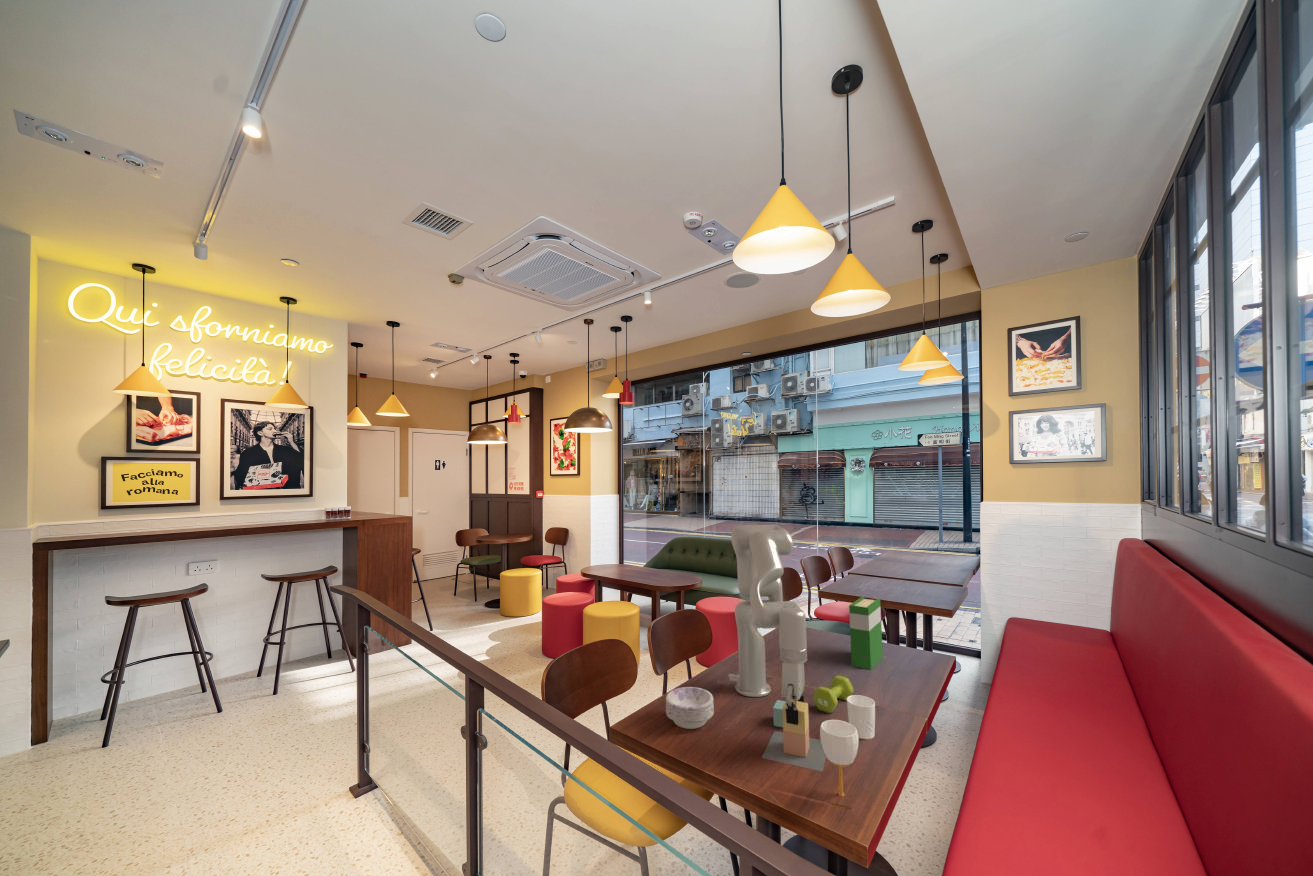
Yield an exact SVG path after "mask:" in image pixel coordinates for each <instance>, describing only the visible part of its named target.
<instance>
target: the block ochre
mask: <svg viewBox="0 0 1313 876" xmlns="http://www.w3.org/2000/svg"><path fill="white" fill-rule="evenodd" d="M792 702H793V703H795V701H793V700H792ZM797 709H798V721H799V723H798V725H794V724H789V723H787V722H786V702H785V704H784V706H783V708H782V710H783V727H782V731H783V730H784V731H789V732H794V733H799V734H804V735H805V734H806V731H807V728H808V726H809V725H810V719H809V718H810V717H809V716H810V715H809V703H808V702H805V701H804V702H799V701H797Z"/></svg>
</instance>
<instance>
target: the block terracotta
mask: <svg viewBox="0 0 1313 876" xmlns="http://www.w3.org/2000/svg"><path fill="white" fill-rule="evenodd" d="M782 732H783V743H784V753H788V754H792V755H797V756H801V757H806V756H807V753H808V750H809V747H810V746H809V738H810V727H809V726H808V728H807V731H806V734H805V735H804V734H799V733H794V732H789V731H784V730H783V729H782Z"/></svg>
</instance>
